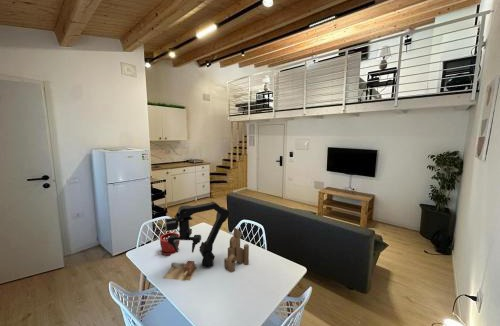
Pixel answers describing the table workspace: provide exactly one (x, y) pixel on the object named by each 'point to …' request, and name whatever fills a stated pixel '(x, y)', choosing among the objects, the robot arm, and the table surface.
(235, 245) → the wooden toy
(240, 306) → the table surface
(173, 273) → the board
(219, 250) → the table surface
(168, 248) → the plant pot
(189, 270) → the brown block with peg
